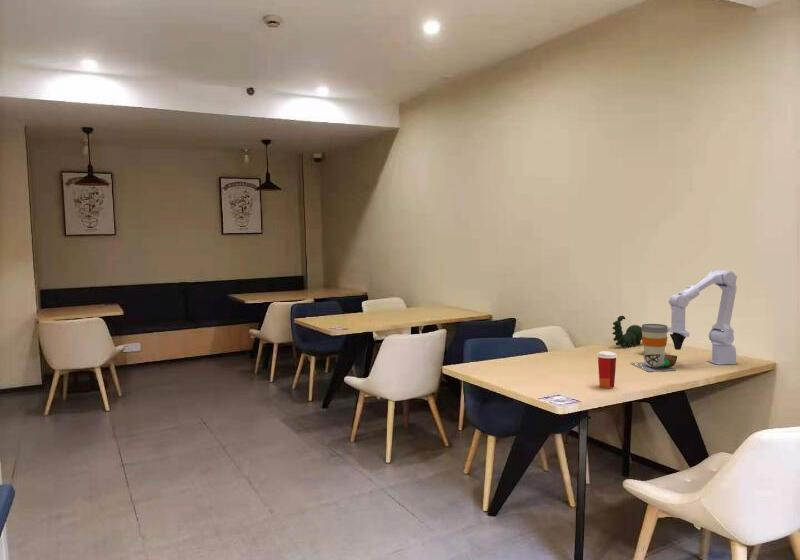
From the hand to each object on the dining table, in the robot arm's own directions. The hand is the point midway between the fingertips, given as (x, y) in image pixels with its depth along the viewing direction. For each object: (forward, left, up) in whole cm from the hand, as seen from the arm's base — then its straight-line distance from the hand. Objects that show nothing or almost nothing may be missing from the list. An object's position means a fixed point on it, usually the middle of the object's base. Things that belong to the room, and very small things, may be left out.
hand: (677, 349), depth 260 cm
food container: (+4, +1, -6) cm, 7 cm away
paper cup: (+47, +27, -8) cm, 55 cm away
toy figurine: (-2, -49, -8) cm, 49 cm away
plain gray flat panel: (+12, -1, -8) cm, 15 cm away
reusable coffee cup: (-3, -26, -8) cm, 27 cm away
